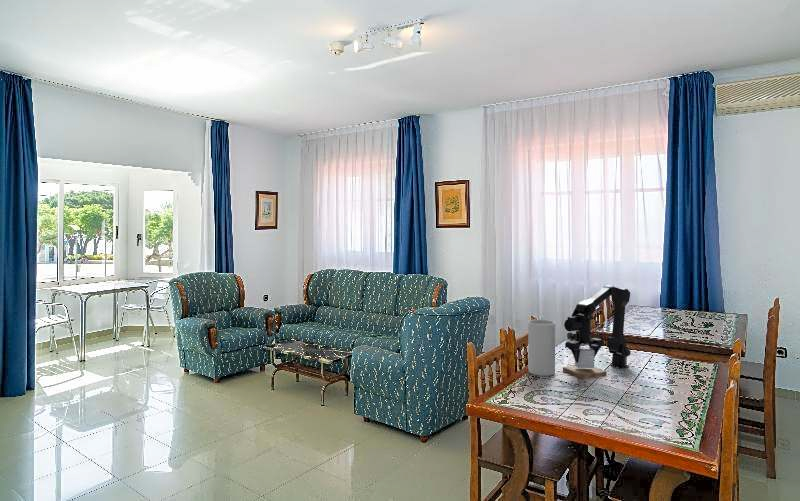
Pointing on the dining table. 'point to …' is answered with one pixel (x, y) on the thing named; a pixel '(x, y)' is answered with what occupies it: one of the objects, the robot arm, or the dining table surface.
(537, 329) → the cylinder vase
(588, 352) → the medicine box
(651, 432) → the dining table surface
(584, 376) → the walnut block
